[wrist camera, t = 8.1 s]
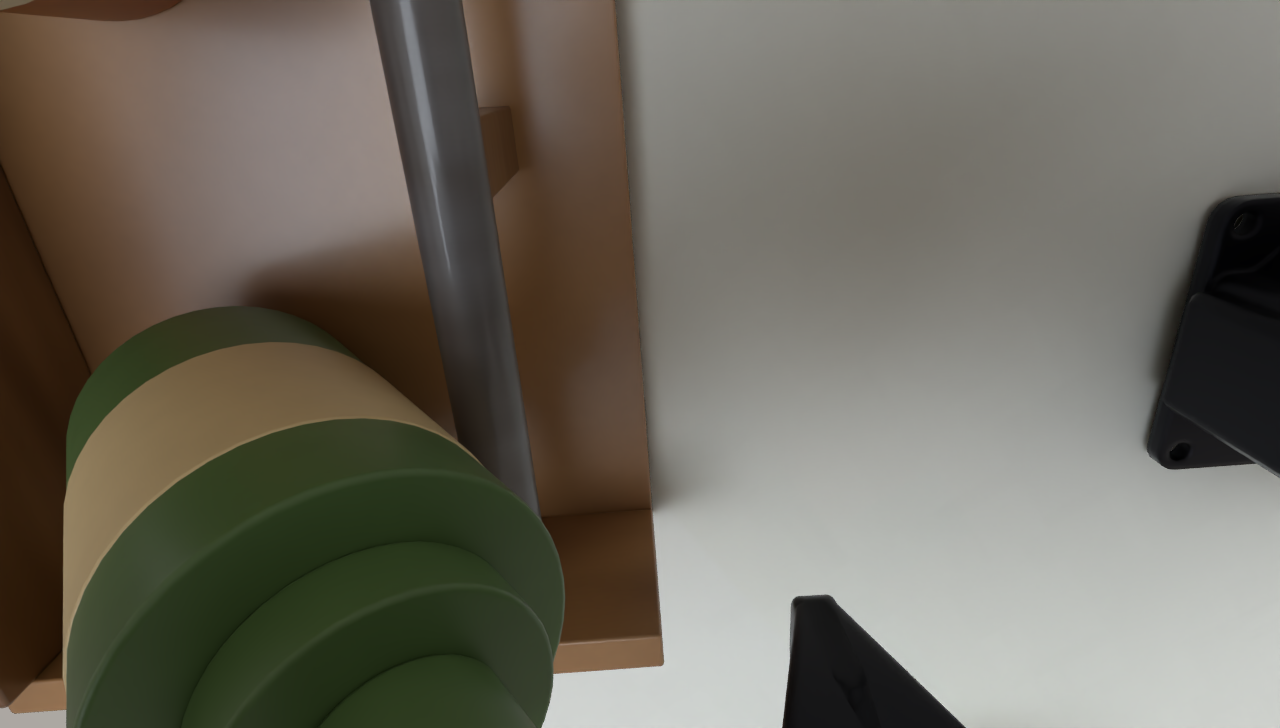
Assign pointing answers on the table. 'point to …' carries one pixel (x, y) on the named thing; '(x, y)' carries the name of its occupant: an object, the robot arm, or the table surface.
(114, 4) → the amber bottle
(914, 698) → the robot arm
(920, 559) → the table surface
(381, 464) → the green bottle
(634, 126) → the table surface
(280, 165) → the rack
